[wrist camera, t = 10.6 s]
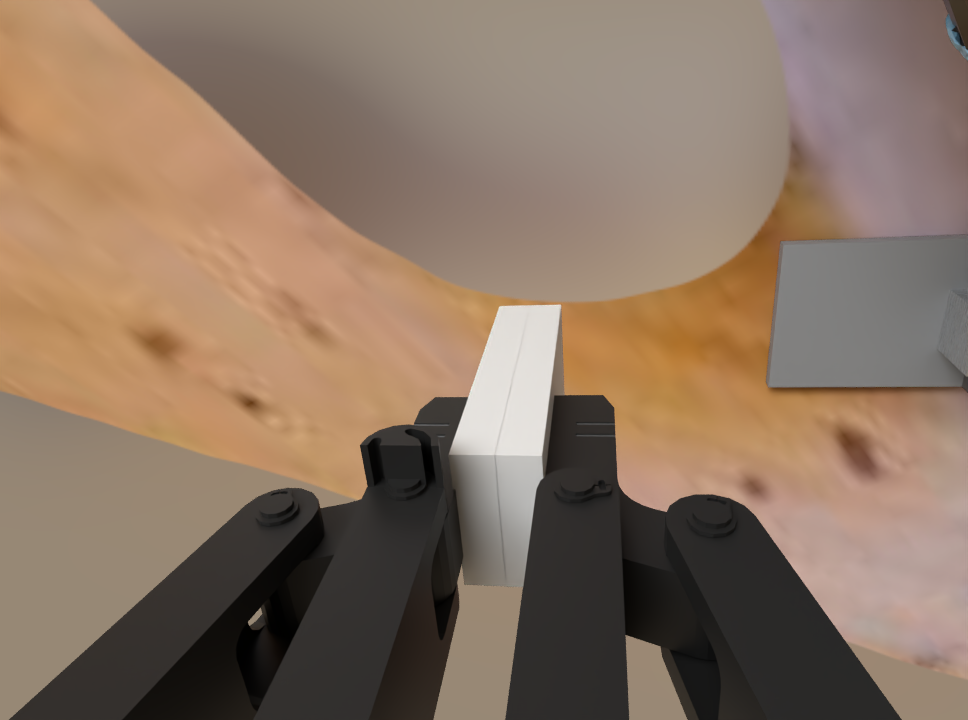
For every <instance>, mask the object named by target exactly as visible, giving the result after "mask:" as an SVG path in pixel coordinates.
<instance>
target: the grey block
mask: <svg viewBox="0 0 968 720" xmlns="http://www.w3.org/2000/svg"><path fill="white" fill-rule="evenodd" d="M937 349H938V350H939V351H940V352H941V353H942V354H943V355H944V356H945V357H946V358H947V359H948V360H949V361H951V362H952V363H953V364H954V365H955V366H956V367H957V368H958V369H959V370H960V371H961V372H962V373H963V374H964V375H965V376H966V377H968V289H952V290H950V291H949V295H948V300H947V304H946V309H945V313H944V318H943V322H942V327H941V331H940V336H939V341H938V345H937Z"/></svg>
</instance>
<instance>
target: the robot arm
mask: <svg viewBox="0 0 968 720" xmlns="http://www.w3.org/2000/svg"><path fill="white" fill-rule="evenodd" d="M943 1H944V4H945V6H946V9H947V11H948V16H947V18H946V28H947V31H948V35H949V38H950V40H951V42H952V44H953V45H954V47H955V48H956V49H957V50H958V51H959V52H960V53H961V54H962V55H963V57H964V58H965V59H967V61H968V0H943ZM360 448H361V453H362V458H363V464H364V469H365V475H366V480H367V485H368V487H367V489H366V491H365V493H364V495H363V497H362V499H360V500H358V501H354V502H350V503H347V504H342V505H337V506H331V507H326V508H320V506H319V501H318V499H317V498H316V496H315V495H314V494H313V493H312V492H309V491H307V490H304V489H299V488H286V489H280V490H279V489H278V490H274V491H271V492H268V493H266V494H263V495H261V496H258V497H257V498H255V499H254V500H253V501H251V502H250V503H248V504H247V505H245V506H244V507H243V508H242V509H241V510H240V511H239V512H238V513H237V514H235V515H234V516H233V517H232V518H231V519H230V520H229V521H228V522H227V523H226V524H225V525H223V526H222V527H221V528H220V529H219V530H218V531H217V532H216V533H215V534H214V535H212V536H211V537H210V538H209V539H208V540H207V541H206V542H205V543H203V544H202V545H201V546H200V547H199V548H198V549H197V550H196V551H195V552H194V553H193V554H191V555H190V556H189V557H188V558H187V559H186V560H185V561H184V562H182V563H181V564H180V565H179V566H178V567H177V568H176V569H175V570H174V571H173V572H172V573H170V574H169V575H168V576H167V577H166V578H165V579H164V580H163V581H162V582H161V583H159V584H158V585H157V586H156V587H155V588H154V589H153V590H152V591H151V592H149V593H148V594H147V595H146V596H145V597H144V598H143V599H142V600H141V601H139V602H138V603H137V604H136V605H135V606H134V607H133V608H132V609H131V610H130V611H129V612H127V614H125V615H124V616H123V617H122V618H121V619H120V620H118V621H117V623H115V624H114V625H113V626H112V627H111V628H110V629H109V630H107V631H106V632H105V633H104V634H103V635H102V636H101V637H100V638H99V639H98V640H96V641H95V642H94V643H93V644H92V645H91V646H90V647H89V648H88V649H87V650H85V651H84V652H83V653H82V654H81V655H80V656H79V657H78V658H77V659H75V661H73V662H72V663H71V664H70V665H69V666H68V667H67V668H66V669H65V670H63V672H61V673H60V674H59V675H58V676H57V677H56V678H55V679H53V680H52V681H51V682H50V683H49V684H48V685H47V686H46V687H45V688H43V690H41V691H40V692H39V693H38V694H37V695H36V696H35V697H34V698H32V699H31V700H30V701H29V702H28V703H27V704H26V705H25V706H24V707H23V708H22V709H20V710H19V711H18V712H17V713H16V714H15V715H14V716H13V717H11V718H10V719H9V720H433V718H434V714H435V710H436V705H437V701H438V697H439V692H440V688H441V684H442V680H443V675H444V671H445V667H446V662H447V658H448V654H449V649H450V645H451V641H452V637H453V632H454V627H455V624H456V619H457V615H458V611H459V593H458V585H457V580H458V576H459V573H460V568H461V565H462V568H463V576H464V584H465V585H484V586H507V587H523V592H522V600H521V607H520V615H519V622H518V629H517V637H516V644H515V652H514V659H513V667H512V674H511V682H510V689H509V696H508V704H507V711H506V719H505V720H629V708H628V707H629V706H628V685H627V684H628V683H627V660H626V639H625V638H626V637H625V635H628V636H631V637H634V638H637V639H640V640H643V641H646V642H649V643H652V644H655V645H658V646H661V652H662V657H663V660H664V662H665V665H666V667H667V670H668V672H669V675H670V677H671V680H672V682H673V684H674V687H675V689H676V692H677V694H678V697H679V699H680V702H681V705H682V707H683V710H684V712H685V714H686V717H687V719H688V720H902V719H901V718H900V717H899V715H898V714H897V713H896V711H895V710H894V708H893V707H892V706H891V704H890V703H889V702H888V700H887V699H886V697H885V696H884V694H883V693H882V692H881V690H880V689H879V688H878V686H877V685H876V683H875V682H874V681H873V679H872V678H871V677H870V675H869V673H868V672H867V671H866V669H865V668H864V667H863V665H862V664H861V662H860V661H859V660H858V658H857V657H856V656H855V654H854V653H853V651H852V650H851V649H850V647H849V646H848V644H847V643H846V641H845V640H844V639H843V637H842V636H841V634H840V633H839V632H838V630H837V629H836V628H835V626H834V625H833V623H832V622H831V621H830V619H829V618H828V616H827V615H826V614H825V612H824V611H823V609H822V608H821V607H820V605H819V604H818V602H817V601H816V600H815V598H814V597H813V595H812V594H811V593H810V591H809V590H808V588H807V587H806V586H805V584H804V583H803V582H802V580H801V579H800V577H799V576H798V575H797V573H796V572H795V570H794V569H793V568H792V566H791V565H790V563H789V562H788V561H787V559H786V558H785V556H784V555H783V554H782V552H781V551H780V549H779V548H778V547H777V545H776V544H775V543H774V541H773V540H772V538H771V537H770V536H769V534H768V533H767V531H766V530H765V529H764V527H763V526H762V524H761V523H760V522H759V520H758V519H757V517H756V516H755V515H754V514H753V513H752V512H751V511H750V510H749V509H748V508H746V507H745V506H744V505H742V504H740V503H738V502H736V501H734V500H732V499H730V498H725V497H721V496H716V495H692V496H688V497H684V498H680V499H679V500H677V501H676V502H674V503H673V504H672V505H670V506H669V508H668V511H667V512H664V511H660V510H656V509H652V508H649V507H646V506H643V505H641V504H639V503H637V502H635V501H633V500H631V499H630V498H629V497H628V496H627V495H625V494H624V493H623V491H622V490H621V488H620V487H619V484H618V480H617V461H616V439H615V417H614V407H613V406H612V405H611V404H610V403H609V401H608V400H607V399H606V398H605V397H604V396H603V395H564V370H563V343H562V315H561V305H530V306H500V307H499V310H498V313H497V315H496V318H495V321H494V324H493V327H492V330H491V333H490V336H489V339H488V342H487V345H486V347H485V350H484V353H483V356H482V359H481V362H480V365H479V368H478V371H477V374H476V376H475V379H474V382H473V385H472V388H471V391H470V394H469V397H435V398H434V399H433V400H432V401H430V402H429V403H428V404H427V405H425V406H424V407H423V408H422V409H420V411H419V414H418V416H417V418H416V420H415V422H414V425H399V426H392V427H389V428H385V429H382V430H379V431H377V432H375V433H374V434H372V435H370V436H368V437H367V438H366V439H365V440H364V441H363V442H362V444H361V445H360ZM260 607H261V610H262V615H261V616H260V617H259V618H258V620H257V621H256V622H254V623H253V624H252V625H251V626H249V625H248V621H249V620H250V619H251V617H252V616H253V615H254V614H255V613H256V612H257V611H258V610H259V608H260Z"/></svg>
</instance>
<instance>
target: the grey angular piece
mask: <svg viewBox="0 0 968 720" xmlns="http://www.w3.org/2000/svg"><path fill="white" fill-rule="evenodd" d="M952 289H968V235H942V236H915V237H887V238H860V239H832V240H804V241H781V242H780V251H779V261H778V271H777V280H776V290H775V299H774V309H773V319H772V328H771V338H770V347H769V357H768V367H767V376H766V383H767V385H768V387H963V388H964V389H965V390H966V391H967V392H968V377H966V376H965V375H964V374H963V373H962V372H961V371H960V370H959V369H958V368H957V367H956V366H955V365H954V364H953V363H952V362H951V361H949V360H948V359H947V358H946V357H945V356H944V355H943V354H942V353H941V352H940V351H939V350H938V349H937V345H938V341H939V336H940V331H941V327H942V322H943V318H944V313H945V309H946V304H947V300H948V295H949V291H950V290H952Z"/></svg>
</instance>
